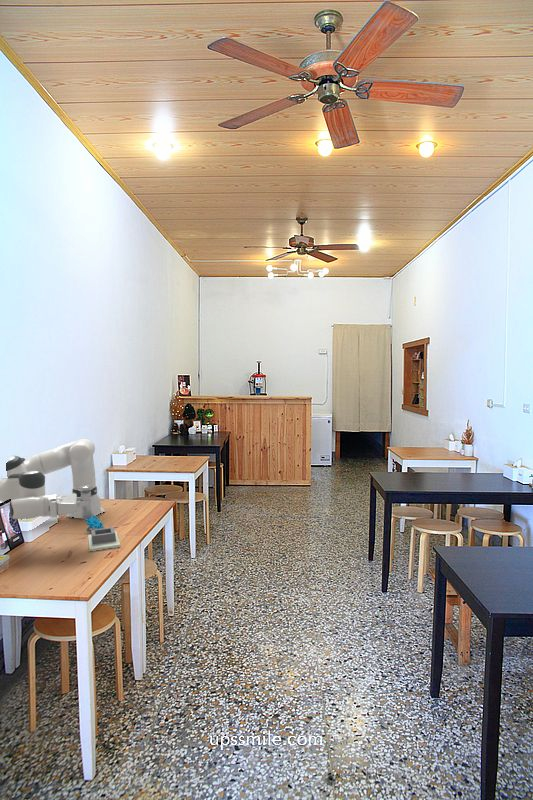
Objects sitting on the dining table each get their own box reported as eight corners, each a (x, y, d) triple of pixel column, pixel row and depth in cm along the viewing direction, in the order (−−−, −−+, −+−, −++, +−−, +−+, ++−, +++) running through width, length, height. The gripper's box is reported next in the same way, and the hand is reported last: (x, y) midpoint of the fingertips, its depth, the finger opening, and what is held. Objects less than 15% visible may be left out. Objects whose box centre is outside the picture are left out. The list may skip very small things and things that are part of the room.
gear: (95, 530, 226) (82, 514, 229) (87, 539, 227) (74, 523, 229) (109, 526, 237) (96, 510, 239) (101, 535, 238) (88, 519, 240)
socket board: (88, 537, 222) (87, 527, 222) (116, 533, 226) (115, 523, 226) (89, 552, 204) (88, 540, 203) (120, 547, 208) (119, 536, 208)
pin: (79, 516, 213) (78, 486, 212) (93, 515, 215) (92, 484, 214) (79, 520, 208) (78, 488, 207) (94, 518, 210) (92, 487, 209)
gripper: (54, 506, 216) (88, 502, 221) (52, 518, 197) (89, 514, 202) (53, 492, 216) (87, 488, 221) (51, 502, 197) (88, 498, 202)
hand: (88, 500), depth 211 cm, fingers closed on pin, 4 cm apart
